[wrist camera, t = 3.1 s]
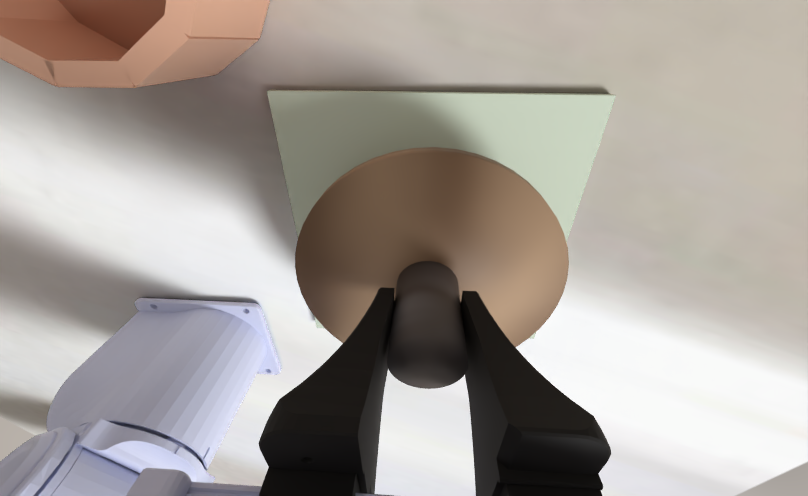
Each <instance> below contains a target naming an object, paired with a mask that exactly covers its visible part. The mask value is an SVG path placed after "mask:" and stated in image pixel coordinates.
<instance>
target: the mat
mask: <svg viewBox="0 0 808 496" xmlns="http://www.w3.org/2000/svg"><path fill="white" fill-rule="evenodd" d="M267 95H268V100H269V104H270V109H271V114H272V119H273V123H274V128H275V133H276V137H277V142H278V147H279V152H280V156H281V161H282V166H283V171H284V175H285V180H286V185H287V189H288V194H289V199H290V204H291V208H292V213H293V218H294V222H295V227H296V232H297V237H299V234H300V231H301V229H302V226H303V223H304V222H305V220H306V218H307V216H308V214H309V213H310V211H311V209H312V208H313V206H314V205H315V203H316V202H317V201H318V200H319V198H320V197H321V196H322V195H323V193H324V192H325V191H326V190H327V188H328V187H330V186H331V185H332V184H333V183H334V182H335V181H336V180H337V179H338V178H339V177H341V176H342V175H344V174H345V173H347V172H348V171H350V170H351V169H353V168H354V167H356V166H358V165H360V164H362V163H364V162H366V161H368V160H370V159H372V158H375V157H378V156H381V155H384V154H387V153H390V152H394V151H399V150H405V149H410V148H424V147H440V148H451V149H459V150H463V151H467V152H472V153H476V154H479V155H482V156H484V157H487V158H490V159H492V160H495V161H497V162H499V163H501V164H503V165H504V166H506V167H508V168H510V169H512V170H514V171H515V172H516V173H517V174H519V175H520V176H521V177H523V178H524V179H525V180H527V181H528V182H529V183H530V184H531V185H532V186H533V187H534V188H535V189H536V190H537V191H538V192H539V193H540V194H541V196H542V197H543V198H544V200H545V201H546V202H547V204H548V205H549V207H550V208H551V210H552V211H553V213H554V214H555V216H556V217H557V219H558V221H559V223H560V226H561V228H562V230H563V232H564V236H565V240H566V242H567V239H568V236H569V233H570V230H571V227H572V224H573V221H574V218H575V215H576V212H577V210H578V207H579V204H580V201H581V198H582V195H583V192H584V189H585V186H586V183H587V180H588V177H589V174H590V171H591V168H592V165H593V162H594V159H595V156H596V153H597V150H598V147H599V144H600V141H601V138H602V135H603V132H604V130H605V127H606V124H607V121H608V118H609V115H610V112H611V109H612V106H613V103H614V100H615V97H616V95H613V94H576V93H493V92H409V91H326V90H269V91H267ZM314 317H315V316H314ZM315 322H316V326H317V328H324V327H323V326H322V324H321V323H320V322H319V321H318V320H317V319H316V317H315ZM535 334H536V332H535V333H534V334H533V335H532V336H531V337H529V338H533V339H534V337H535Z"/></svg>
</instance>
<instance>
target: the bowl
mask: <svg viewBox="0 0 808 496" xmlns="http://www.w3.org/2000/svg"><path fill="white" fill-rule="evenodd" d="M269 2H270V0H0V58H1V59H3V60H4V61H6V62H8V63H10V64H12V65H14V66H16V67H18V68H20V69H22V70H24V71H26V72H28V73H30V74H32V75H34V76H36V77H38V78H40V79H42V80H44V81H46V82H48V83H50V84H52V85H54V86H58V87H100V88H137V87H143V86H150V85H156V84H162V83H169V82H175V81H182V80H188V79H195V78H201V77H207V76H214V75H217V74H218V73H220V72H221V71H222V70H223V69H224V68H226V67H227V66H228V65H229V64H230V63H232V62H233V61H234V60H235V59H236V58H238V57H239V56H240V55H241V54H243V53H244V52H245V51H246V50H247V49H249V48H250V47H251V46H252V45H253V44H255V43H256V42H257V41H258V40H259V39H258V38H260V36H261V33H262V29H263V25H264V21H265V17H266V14H267V10H268V6H269Z"/></svg>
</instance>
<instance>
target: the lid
mask: <svg viewBox="0 0 808 496" xmlns="http://www.w3.org/2000/svg"><path fill="white" fill-rule="evenodd" d="M568 266H569V260H568V247H567V243H566V240H565V236H564V232H563V230H562V228H561V226H560V223H559V221H558V219H557V217H556V216H555V214H554V213H553V211H552V210H551V208H550V207H549V205H548V204H547V202H546V201H545V200H544V198H543V197H542V196H541V194H540V193H539V192H538V191H537V190H536V189H535V188H534V187H533V186H532V185H531V184H530V183H529V182H528V181H527V180H525V179H524V178H523V177H521V176H520V175H519V174H517V173H516V172H515V171H514V170H512V169H510V168H508V167H506V166H504V165H503V164H501V163H499V162H497V161H495V160H492V159H490V158H487V157H484V156H482V155H479V154H476V153H472V152H467V151H463V150H459V149H451V148H440V147H424V148H410V149H405V150H399V151H394V152H390V153H387V154H384V155H381V156H378V157H375V158H372V159H370V160H368V161H366V162H364V163H362V164H360V165H358V166H356V167H354V168H353V169H351V170H350V171H348V172H347V173H345V174H344V175H342V176H341V177H339V178H338V179H337V180H336V181H335V182H334V183H333V184H332V185H331V186H330V187H328V188H327V190H326V191H325V192H324V193H323V195H322V196H321V197H320V198H319V200H318V201H317V202H316V203H315V205H314V206H313V208H312V209H311V211H310V213H309V214H308V216H307V218H306V220H305V222H304V223H303V226H302V229H301V231H300V234H299V237H298V241H297V247H296V252H295V268H296V275H297V281H298V284H299V287H300V290H301V293H302V295H303V297H304V299H305V302H306V304H307V306H308V307H309V309H310V310H311V312H312V313H313V315H314V316H315V317H316V319H317V320H318V321H319V322H320V323H321V324H322V326H323V327H324V328H325V329H327V330H328V331H329V332H330V333H331V334H332V335H333V336H334V337H336V338H337V339H338V340H340V341H341V342H342V343H344V342H345V341H346V339H347V338H348V337H349V336H350V334H351V333H352V332H353V330H354V329H355V328H356V326H357V325H358V324H359V322H360V321H361V319H362V318H363V316H364V315H365V313H366V312H367V310H368V309H369V307H370V305H371V303H372V302H373V300H374V298H375V296H376V294H377V292H378V289H380V288H381V287H383V288H394V297H395V302H394V310H393V318H392V325H391V332H390V340H389V348H388V355H387V366H388V369H389V371H390V372H391V374H392V375H393V376H394V377H395V378H397V379H398V380H399V381H401V382H403V383H405V384H407V385H410V386H414V387H418V388H428V389H431V388H441V387H445V386H448V385H451V384H453V383H455V382H457V381H458V380H460V379H461V378H462V377H463V376H464V374H465V373H466V371H467V368H468V358H467V350H466V342H465V333H464V325H463V317H462V309H461V298H462V291H477V292H478V293H479V295H480V297H481V299H482V301H483V302H484V304H485V306H486V308H487V309H488V311H489V312H490V314H491V315H492V317H493V318H494V320H495V321H496V323H497V324H498V326H499V327H500V329H501V330H502V331H503V333H504V334H505V335H506V337H507V338H508V339H509V340H510V342H511V343H512V344H513V345H514V347H516V346H518V345H520V344H521V343H522V342H524V341H525V340H527V339H528V338H529V337H531V336H532V335H533V334H534V333H535V332H536V331H537V330H538V329H539V328H540V327H541V326H542V325H543V324H544V323H545V322H546V320H547V319H548V318H549V317H550V316H551V314H552V312H553V311H554V309H555V308H556V306H557V305H558V302H559V300H560V298H561V296H562V294H563V291H564V288H565V284H566V281H567V275H568Z"/></svg>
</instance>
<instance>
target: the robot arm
mask: <svg viewBox="0 0 808 496" xmlns="http://www.w3.org/2000/svg"><path fill="white" fill-rule="evenodd" d="M394 302H395V297H394V288H383V287H381V288H380V289H378V292H377V294H376V296H375V298H374V300H373V302H372V303H371V305H370V307H369V309H368V310H367V312H366V313H365V315H364V316H363V318H362V319H361V321H360V322H359V324H358V325H357V326H356V328H355V329H354V330H353V332H352V333H351V334H350V336H349V337H348V338H347V339H346V341H345V342H344V343H343V344H342V345H341V346H340V348H339V349H338V350H337V351H336V352H335V353H334V354H333V355H332V356H331V357H330V358H329V359H328V360H327V361H326V362H325V363H324V364H323V365H322V366H321V367H320V368H319V369H317V370H316V371H315V372H314V373H313V374H312V375H310V376H309V377H308V378H307V379H306V380H305V381H303V382H302V383H301V384H300V385H298V386H297V387H296V388H294V389H293V390H291V391H290V392H289V393H287V394H286V395H285V396H283V397H282V398H281V399H279V401H278V403H277V404H276V406H275V408H274V409H273V411H272V413H271V415H270V417H269V419H268V421H267V423H266V426H265V428H264V431H263V433H262V435H261V438H260V441H259V447H260V450H261V452H262V454H263V456H264V458H265V460H266V462H267V464H268V466H269V468H268V471H267V474H266V476H265V479H264V482H263V485H262V486H247V485H233V484H218V483H213V482H214V480H215V477H214V476H212V475H210V474H209V473H208V472H207V469H208V467H209V465H210V463H211V462H212V460H213V458H214V456H215V454H216V452H217V450H218V448H219V446H220V444H221V442H222V440H223V438H224V436H225V434H226V432H227V430H228V428H229V427H230V425H231V423H232V421H233V419H234V417H235V415H236V413H237V411H238V409H239V407H240V405H241V403H242V401H243V399H244V397H245V395H246V393H247V391H248V390H249V388H250V386H251V384H252V382H253V380H254V378H255V376H256V374H279V373H280V371H281V366H280V363H279V360H278V357H277V354H276V351H275V348H274V345H273V342H272V339H271V336H270V333H269V330H268V327H267V324H266V321H265V318H264V315H263V312H262V309H261V307H260V306H259V305H258V304H256V303H242V302H220V301H199V300H177V299H155V298H139V299H137V300H136V301H135V303H134V304H135V306H136V308H137V310H138V311H139V312H138V313H136V314H135V315H134V316H133V317H132V318H131V319H130V320H129V321H128V322H127V323H126V324H125V325H124V326H123V327H121V328H120V329H119V330H118V331H117V332H116V333H115V334H114V335H113V336H112V337H111V338H110V339H109V340H108V341H106V342H105V343H104V344H103V345H102V346H101V347H100V348H99V349H98V350H97V351H96V352H95V353H94V354H93V355H91V356H90V357H89V358H88V359H87V360H86V361H85V362H84V363H83V364H82V365H81V366H80V367H79V368H78V369H76V370H75V371H74V372H73V373H72V374H71V375H70V376H69V377H68V379H67V380H66V381H65V382H64V383H63V385H62V386H61V387H60V389H59V391H58V392H57V394H56V395H55V397H54V399H53V401H52V404H51V406H50V409H49V411H48V415H47V431H48V432H46V433H42V434H39V435H36V436H34V437H33V438H31V439H29V440H28V441H26V442H25V443H23V444H22V445H21V446H20V447H18V448H17V449H15V450H14V451H13V452H12V453H10V454H9V455H8V456H7V457H5V458H4V459H3V460H2V461H0V496H392V495H378V494H374V491H375V479H376V467H377V455H378V444H379V433H380V422H381V412H382V402H383V393H384V387H385V381H386V376H387V371H388V366H387V355H388V348H389V340H390V332H391V325H392V318H393V310H394ZM461 309H462V317H463V325H464V333H465V342H466V350H467V358H468V368H467V371H466V373H465V378H466V383H467V389H468V395H469V402H470V414H471V426H472V439H473V452H474V468H475V485H476V496H602V493H601V491H600V490H602V489H603V484H602V482H601V480H600V477H599V475H598V473H599V472H600V470H601V469H602V468H603V466H604V465H605V464H606V463H607V461H608V459H609V457H610V455H611V449H610V446H609V444H608V442H607V440H606V438H605V436H604V434H603V432H602V430H601V428H600V426H599V425H598V423H597V421H596V420H595V418H594V416H593V415H591V414H590V413H588V412H587V411H586V410H584V409H583V408H582V407H580V406H579V405H577V404H576V403H575V402H573V401H572V400H571V399H569V398H568V397H567V396H565V395H564V394H563V393H562V392H561V391H559V390H558V389H557V388H556V387H554V386H553V385H552V384H551V383H550V382H549V381H548V380H547V379H546V378H544V377H543V376H542V375H541V374H540V373H539V372H538V371H537V370H536V369H535V368H534V367H533V366H532V365H531V364H530V363H529V362H528V361H527V360H526V359H525V358H524V357H523V356H522V355H521V353H520V352H519V351H518V350H517V349H516V348H515V347H514V345H513V344H512V343H511V342H510V340H509V339H508V338H507V337H506V335H505V334H504V333H503V331H502V330H501V329H500V327H499V326H498V324H497V323H496V321H495V320H494V318H493V317H492V315H491V314H490V312H489V311H488V309H487V308H486V306H485V304H484V302H483V301H482V299H481V297H480V295H479V293H478V292H477V291H462V298H461Z"/></svg>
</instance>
